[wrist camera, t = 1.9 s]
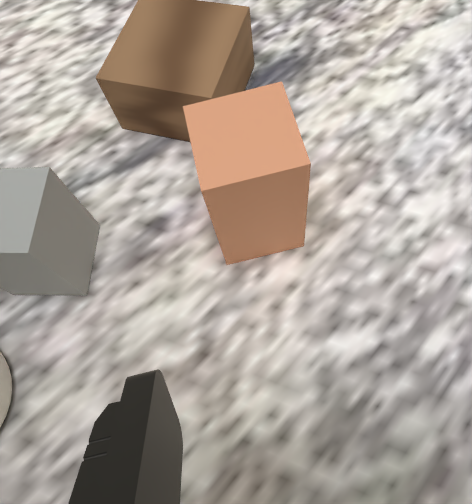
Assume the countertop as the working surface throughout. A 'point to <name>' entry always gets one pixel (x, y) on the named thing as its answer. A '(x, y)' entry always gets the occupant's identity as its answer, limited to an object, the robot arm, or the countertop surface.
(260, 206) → the terracotta block
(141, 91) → the walnut block
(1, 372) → the milk bottle
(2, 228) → the slate block
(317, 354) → the countertop surface
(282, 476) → the countertop surface
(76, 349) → the countertop surface
